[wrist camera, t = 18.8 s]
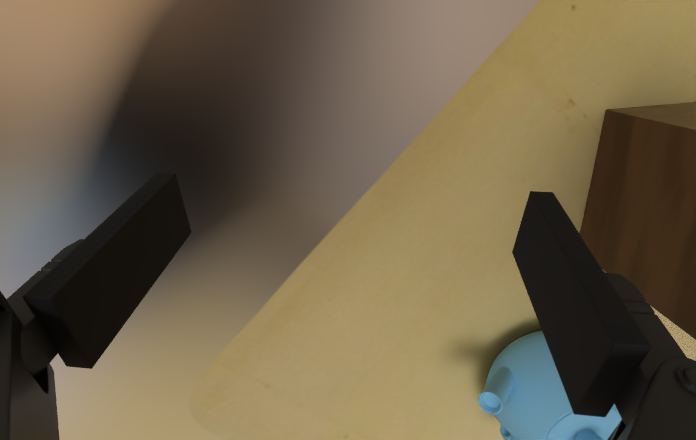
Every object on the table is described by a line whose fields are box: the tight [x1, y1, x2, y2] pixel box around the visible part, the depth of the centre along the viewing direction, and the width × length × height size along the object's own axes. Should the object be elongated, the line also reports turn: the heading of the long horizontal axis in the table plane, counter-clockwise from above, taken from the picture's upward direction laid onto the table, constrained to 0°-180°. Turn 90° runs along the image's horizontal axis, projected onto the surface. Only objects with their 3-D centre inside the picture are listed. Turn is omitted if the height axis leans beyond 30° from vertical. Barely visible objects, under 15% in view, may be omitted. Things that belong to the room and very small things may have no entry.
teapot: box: [478, 331, 622, 440], centre depth 47 cm, size 20×20×13 cm
